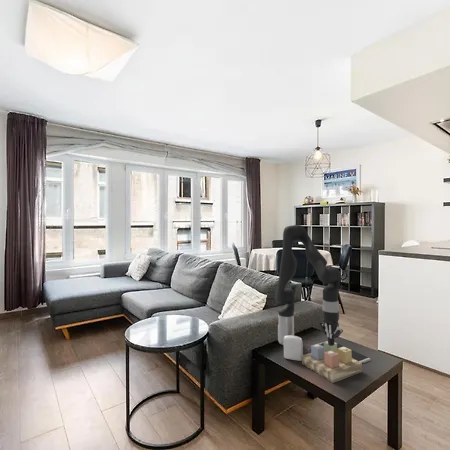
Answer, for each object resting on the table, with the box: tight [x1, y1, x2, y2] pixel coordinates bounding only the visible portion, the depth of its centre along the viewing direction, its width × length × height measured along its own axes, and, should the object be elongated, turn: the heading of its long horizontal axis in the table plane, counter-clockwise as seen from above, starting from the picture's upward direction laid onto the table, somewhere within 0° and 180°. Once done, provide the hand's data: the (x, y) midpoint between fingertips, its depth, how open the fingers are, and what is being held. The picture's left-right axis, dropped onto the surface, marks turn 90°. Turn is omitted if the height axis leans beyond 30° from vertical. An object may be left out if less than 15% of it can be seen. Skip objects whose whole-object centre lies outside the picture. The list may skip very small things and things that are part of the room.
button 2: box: [323, 340, 338, 353], centre depth 151 cm, size 5×5×6 cm
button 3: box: [324, 351, 339, 369], centre depth 138 cm, size 5×5×6 cm
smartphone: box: [318, 341, 371, 364], centre depth 161 cm, size 13×27×2 cm, turn 28°
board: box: [301, 351, 363, 384], centre depth 145 cm, size 20×20×4 cm
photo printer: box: [283, 335, 304, 362], centre depth 155 cm, size 10×4×12 cm, turn 66°
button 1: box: [310, 343, 324, 361], centre depth 146 cm, size 5×5×6 cm
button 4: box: [337, 346, 353, 364], centre depth 143 cm, size 5×5×6 cm
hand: (331, 345), depth 138 cm, fingers closed
